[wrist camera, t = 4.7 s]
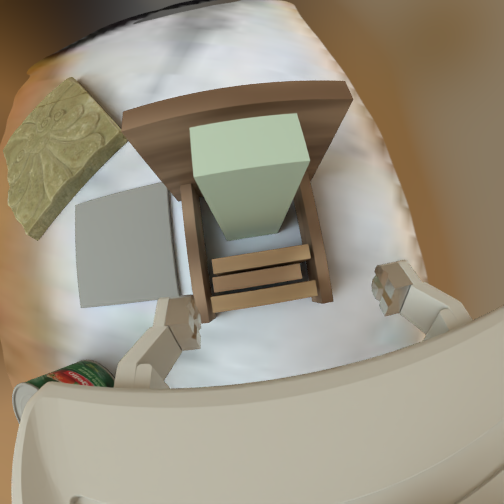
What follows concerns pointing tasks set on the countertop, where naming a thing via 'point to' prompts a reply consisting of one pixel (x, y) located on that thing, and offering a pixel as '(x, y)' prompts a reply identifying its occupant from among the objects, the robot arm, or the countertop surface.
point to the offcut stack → (261, 278)
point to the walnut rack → (232, 108)
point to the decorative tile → (57, 154)
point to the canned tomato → (62, 381)
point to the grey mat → (125, 248)
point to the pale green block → (249, 171)
